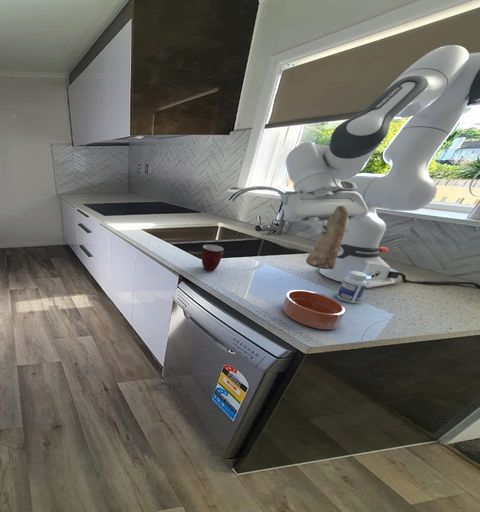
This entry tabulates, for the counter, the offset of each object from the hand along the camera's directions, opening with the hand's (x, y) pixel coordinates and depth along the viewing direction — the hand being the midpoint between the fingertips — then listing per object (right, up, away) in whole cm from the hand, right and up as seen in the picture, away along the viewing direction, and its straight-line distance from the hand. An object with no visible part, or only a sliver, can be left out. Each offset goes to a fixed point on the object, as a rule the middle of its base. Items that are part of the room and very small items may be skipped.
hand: (333, 232), depth 66 cm
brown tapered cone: (0, -9, +5) cm, 10 cm away
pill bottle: (+21, -21, +17) cm, 34 cm away
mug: (-15, -13, +38) cm, 43 cm away
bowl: (0, -25, +8) cm, 26 cm away
